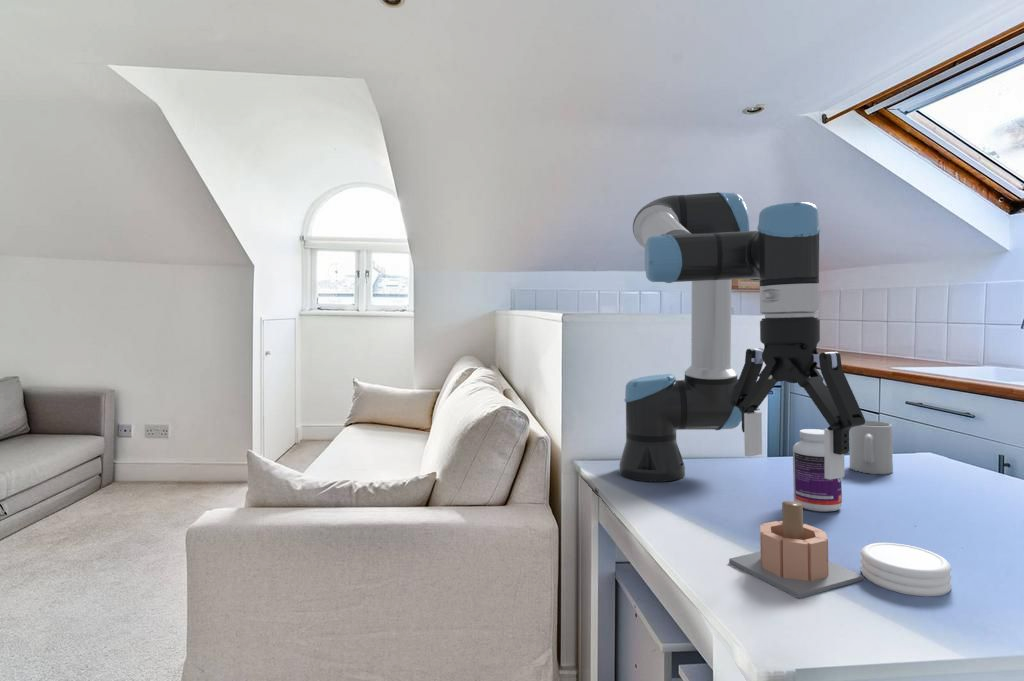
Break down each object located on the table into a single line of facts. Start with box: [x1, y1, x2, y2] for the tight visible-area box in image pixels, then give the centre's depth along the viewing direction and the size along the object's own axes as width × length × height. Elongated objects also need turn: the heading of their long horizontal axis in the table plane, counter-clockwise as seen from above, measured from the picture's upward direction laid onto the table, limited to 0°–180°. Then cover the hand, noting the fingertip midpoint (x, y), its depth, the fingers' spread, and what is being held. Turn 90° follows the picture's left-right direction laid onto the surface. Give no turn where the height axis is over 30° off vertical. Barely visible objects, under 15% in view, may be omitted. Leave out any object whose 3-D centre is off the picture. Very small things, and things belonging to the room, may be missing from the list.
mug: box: [849, 420, 894, 475], centre depth 128 cm, size 12×8×11 cm
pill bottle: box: [792, 428, 843, 513], centre depth 105 cm, size 8×8×14 cm
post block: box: [728, 500, 864, 599], centre depth 78 cm, size 12×12×10 cm
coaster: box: [860, 542, 953, 598], centre depth 75 cm, size 10×10×4 cm
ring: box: [759, 520, 829, 581], centre depth 79 cm, size 8×8×5 cm
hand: (790, 465), depth 79 cm, fingers open, 13 cm apart
